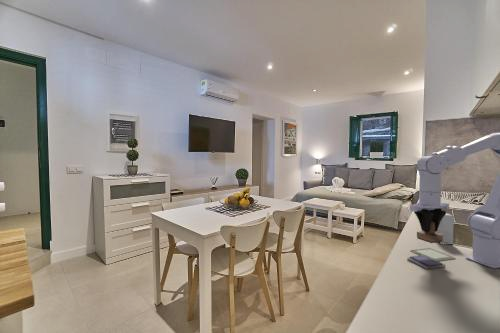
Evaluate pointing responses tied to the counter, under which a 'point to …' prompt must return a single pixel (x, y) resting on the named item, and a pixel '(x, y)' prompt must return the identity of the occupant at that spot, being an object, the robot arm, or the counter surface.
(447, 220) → the skincare box
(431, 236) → the stamp
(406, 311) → the counter surface
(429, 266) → the ink pad
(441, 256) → the pale green flat square
